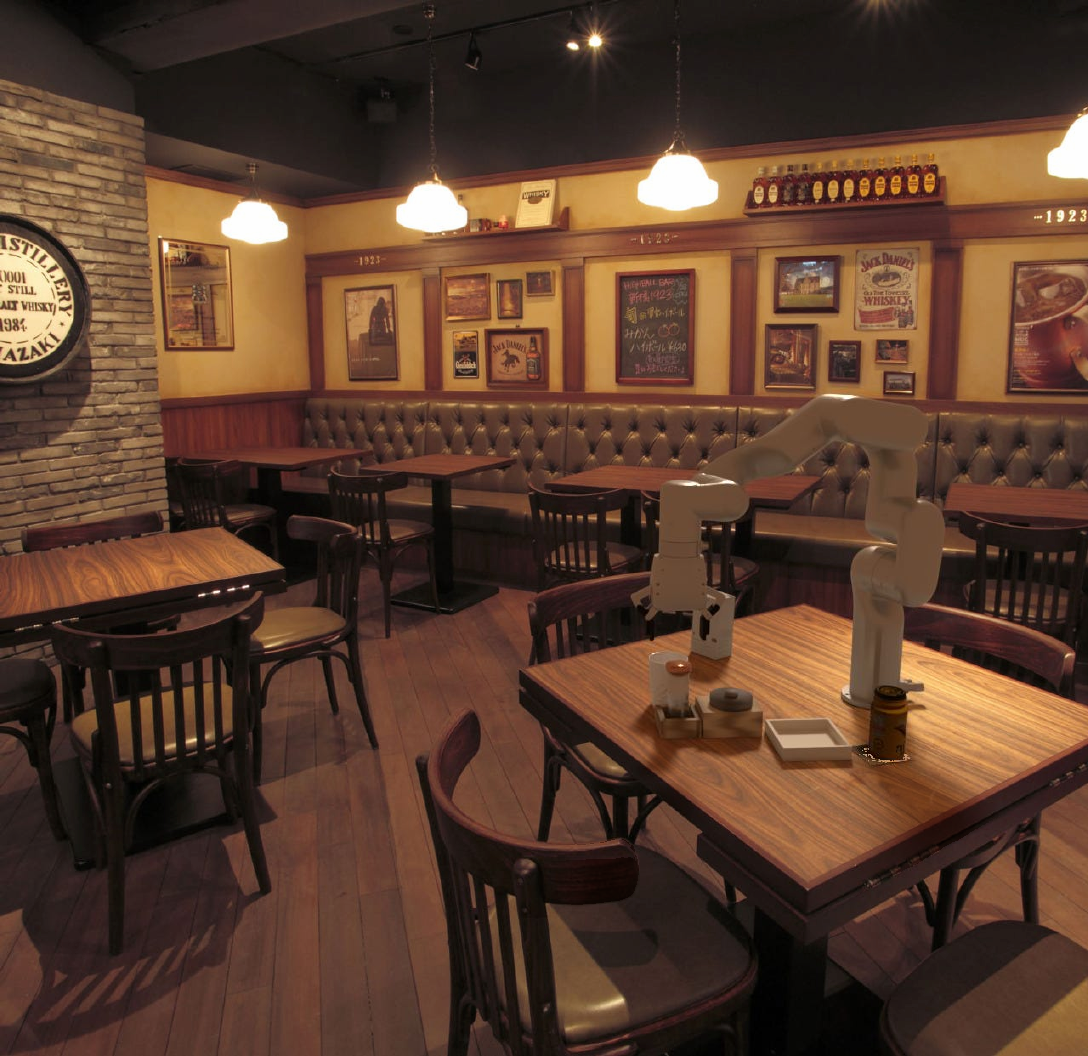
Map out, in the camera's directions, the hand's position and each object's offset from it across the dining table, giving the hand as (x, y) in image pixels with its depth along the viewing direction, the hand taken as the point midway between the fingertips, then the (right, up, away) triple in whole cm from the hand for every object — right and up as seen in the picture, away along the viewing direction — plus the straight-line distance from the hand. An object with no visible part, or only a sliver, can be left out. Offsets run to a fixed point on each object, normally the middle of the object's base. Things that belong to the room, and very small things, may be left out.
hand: (676, 638), depth 161 cm
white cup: (+1, -16, +16) cm, 22 cm away
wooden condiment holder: (+7, -18, +4) cm, 19 cm away
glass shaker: (+1, -18, +4) cm, 18 cm away
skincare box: (+15, -9, +44) cm, 48 cm away
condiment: (+35, -20, -8) cm, 41 cm away
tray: (+23, -19, -4) cm, 30 cm away
